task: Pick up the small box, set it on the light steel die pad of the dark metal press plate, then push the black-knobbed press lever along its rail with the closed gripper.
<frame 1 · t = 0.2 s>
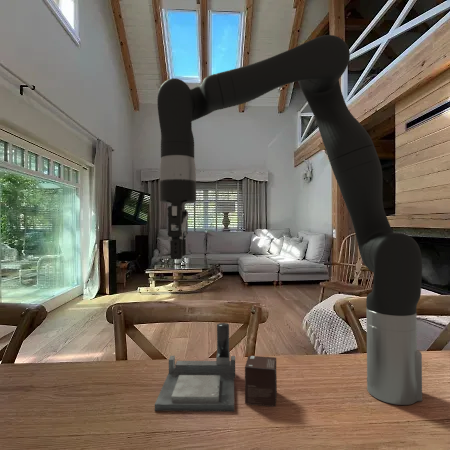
hand: (178, 257, 68), 28 cm above the table, fingers open, 8 cm apart
lever: (223, 343, 75), point 8 cm above the table, slide at 0.0 cm
press: (198, 389, 69), on the table
box: (261, 399, 65), on the table
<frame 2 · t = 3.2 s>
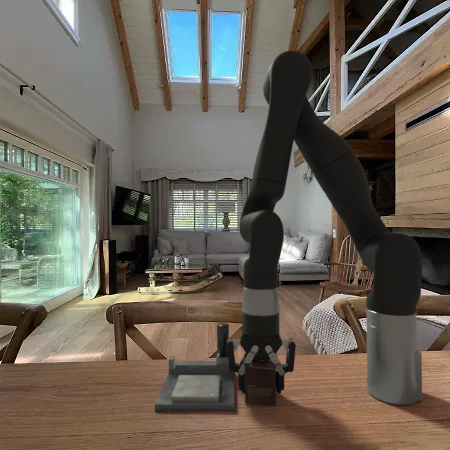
hand: (261, 391, 65), 1 cm above the table, fingers closed on box, 6 cm apart
box: (261, 398, 65), on the table, touching gripper
everything else where it was.
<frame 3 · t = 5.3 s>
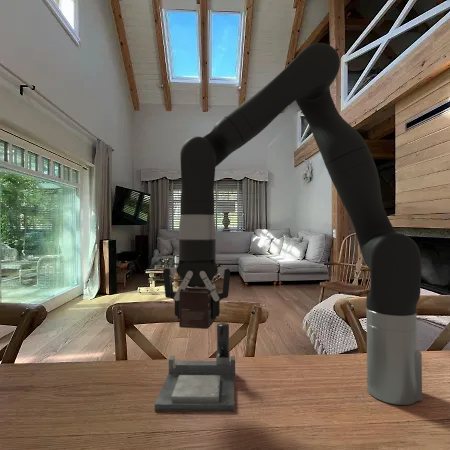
hand: (197, 318, 66), 16 cm above the table, fingers closed on box, 6 cm apart
box: (197, 325, 66), point 14 cm above the table, touching gripper
everything else where it was.
when the fingers open (5 cm above the table, at t = 7.9 s): box drops 1 cm, resting on press.
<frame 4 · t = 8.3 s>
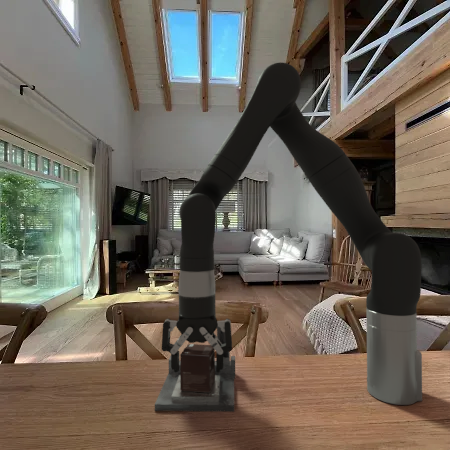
hand: (197, 371, 66), 5 cm above the table, fingers open, 8 cm apart
box: (198, 386, 66), point 2 cm above the table, touching press
everything else where it was.
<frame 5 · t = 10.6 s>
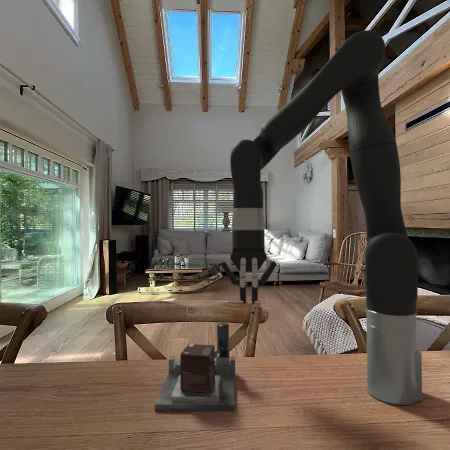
hand: (248, 302, 75), 17 cm above the table, fingers closed
nothing on the table moved.
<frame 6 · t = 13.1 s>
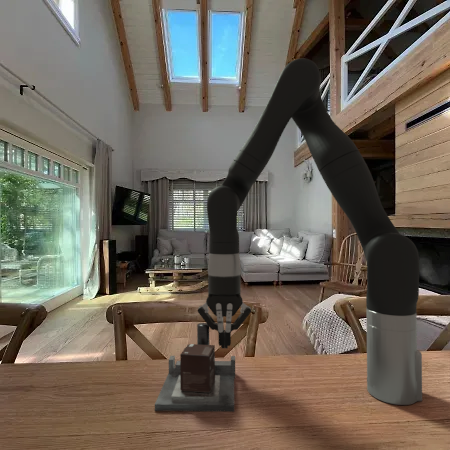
hand: (224, 347, 75), 7 cm above the table, fingers closed
lever: (203, 343, 75), point 8 cm above the table, slide at 4.6 cm, touching hand
everything else where it was.
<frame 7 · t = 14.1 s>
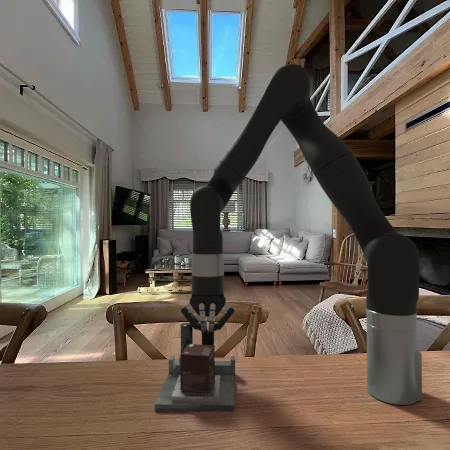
hand: (207, 347, 75), 7 cm above the table, fingers closed
lever: (186, 343, 75), point 8 cm above the table, slide at 8.5 cm, touching hand
everything else where it was.
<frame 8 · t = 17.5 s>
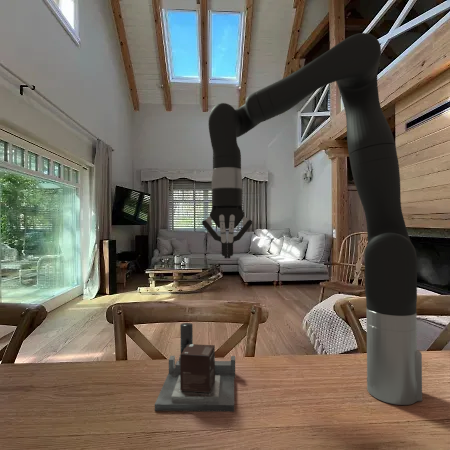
hand: (227, 258, 80), 27 cm above the table, fingers closed
lever: (186, 343, 75), point 8 cm above the table, slide at 8.5 cm
everything else where it was.
at the end: box inside the target area on the press (0.2 cm from its centre), point 2.0 cm above the press's base; box tilted 0°; lever slide at 8.5 cm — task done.
